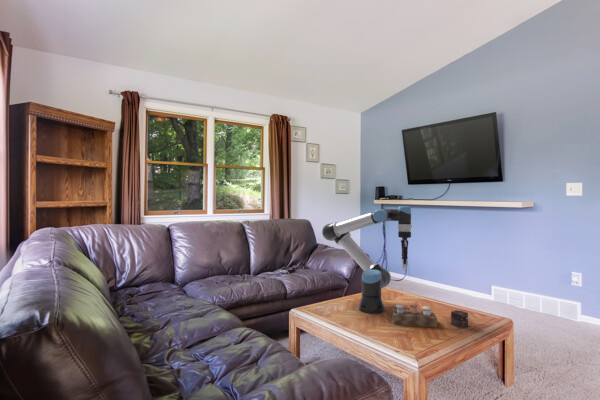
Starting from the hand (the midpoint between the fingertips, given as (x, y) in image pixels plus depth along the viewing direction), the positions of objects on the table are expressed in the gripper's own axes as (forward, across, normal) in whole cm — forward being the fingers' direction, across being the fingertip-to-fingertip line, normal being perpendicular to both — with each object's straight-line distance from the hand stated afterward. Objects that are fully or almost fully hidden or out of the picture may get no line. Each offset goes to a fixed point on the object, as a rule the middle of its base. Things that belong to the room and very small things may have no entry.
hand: (404, 269), depth 204 cm
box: (+25, -23, -26) cm, 42 cm away
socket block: (+24, -23, -2) cm, 34 cm away
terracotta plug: (+22, -23, -2) cm, 32 cm away
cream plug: (+24, -23, -9) cm, 34 cm away
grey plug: (+24, -23, +5) cm, 33 cm away
